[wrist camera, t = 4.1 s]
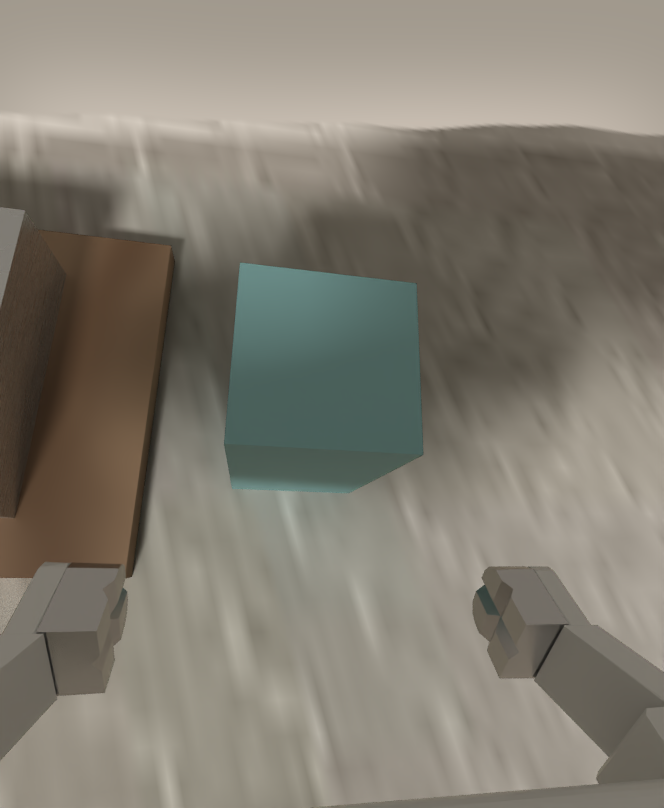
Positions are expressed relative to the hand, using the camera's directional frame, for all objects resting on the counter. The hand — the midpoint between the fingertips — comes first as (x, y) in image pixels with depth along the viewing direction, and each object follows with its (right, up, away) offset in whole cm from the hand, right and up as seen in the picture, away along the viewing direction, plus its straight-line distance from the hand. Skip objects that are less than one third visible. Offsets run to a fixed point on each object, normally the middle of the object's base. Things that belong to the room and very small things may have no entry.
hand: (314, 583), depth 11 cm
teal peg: (-1, +3, +10) cm, 11 cm away
